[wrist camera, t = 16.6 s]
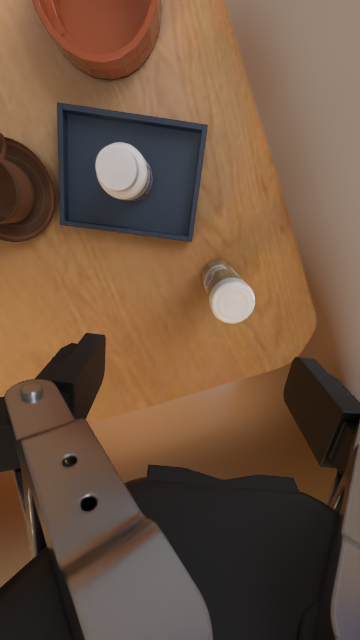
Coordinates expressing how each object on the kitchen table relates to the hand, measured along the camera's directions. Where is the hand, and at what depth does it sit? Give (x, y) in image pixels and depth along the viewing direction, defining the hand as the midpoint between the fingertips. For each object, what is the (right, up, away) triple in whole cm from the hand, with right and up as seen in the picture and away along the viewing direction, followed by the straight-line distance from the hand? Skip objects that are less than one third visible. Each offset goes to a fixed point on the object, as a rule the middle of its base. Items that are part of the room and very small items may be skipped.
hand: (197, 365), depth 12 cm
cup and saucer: (-22, +19, +25) cm, 39 cm away
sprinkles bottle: (+5, +8, +29) cm, 31 cm away
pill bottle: (-7, +20, +24) cm, 32 cm away
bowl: (-9, +35, +19) cm, 41 cm away
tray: (-7, +20, +25) cm, 32 cm away
